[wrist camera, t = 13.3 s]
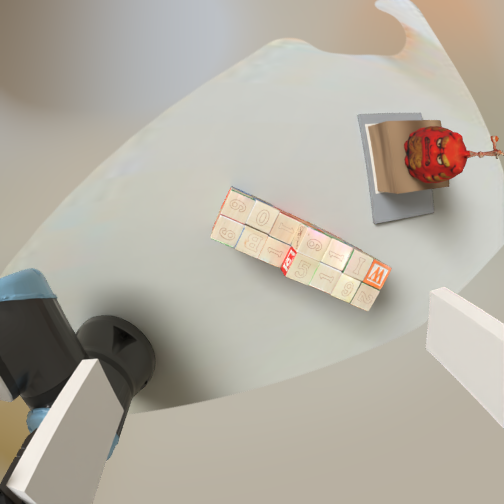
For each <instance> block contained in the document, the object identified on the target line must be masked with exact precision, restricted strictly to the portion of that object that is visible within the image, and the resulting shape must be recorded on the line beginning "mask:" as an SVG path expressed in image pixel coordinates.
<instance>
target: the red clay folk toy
mask: <svg viewBox="0 0 504 504" xmlns="http://www.w3.org/2000/svg"><path fill="white" fill-rule="evenodd" d="M498 139H499V138H498V137H497V136H491V141H492V142H493V149H494V150H493V151H489V152H481V151H480V152H478V153H476V152H472V151H467V150H466V147H465V145H464V142H463V138H462V136H461V135H460V134H458V133H456V132H452V131H451V130H449V129H445V128H443V127H439V126H429V127H424V128H420V129H418V130H417V131H415V132H412V133H411V134H410V135H409V139H408V140H407V141H406V142H405V143H404V149H405V151H406V156H405V159H404V160H405V165H407V168H408V172H409V174H410V175H411V176H412V177H415V178H417V179H419V180H420V181H422V182H424V183H440V182H443V181H447V180H449V179H451V178H453V177H455V176H456V175H458V174H460V173H462V171H463V169H464V167H465V164H466V161H467V158H470V157H473V156H476V155H477V156H479V157H480V158H481V157H483V156H484V155H486V156H496V159H498V156H499V155H500V154H501V155H504V153H502V152H503V151H500V150H497V149H496V142H497V141H498Z"/></svg>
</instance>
